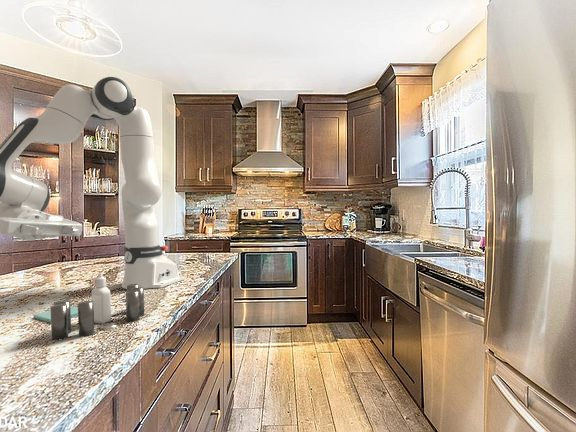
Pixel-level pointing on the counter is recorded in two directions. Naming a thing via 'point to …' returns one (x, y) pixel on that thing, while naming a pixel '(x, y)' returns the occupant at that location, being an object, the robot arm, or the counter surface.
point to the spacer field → (92, 313)
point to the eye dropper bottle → (101, 300)
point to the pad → (47, 315)
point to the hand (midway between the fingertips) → (58, 232)
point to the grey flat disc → (109, 326)
